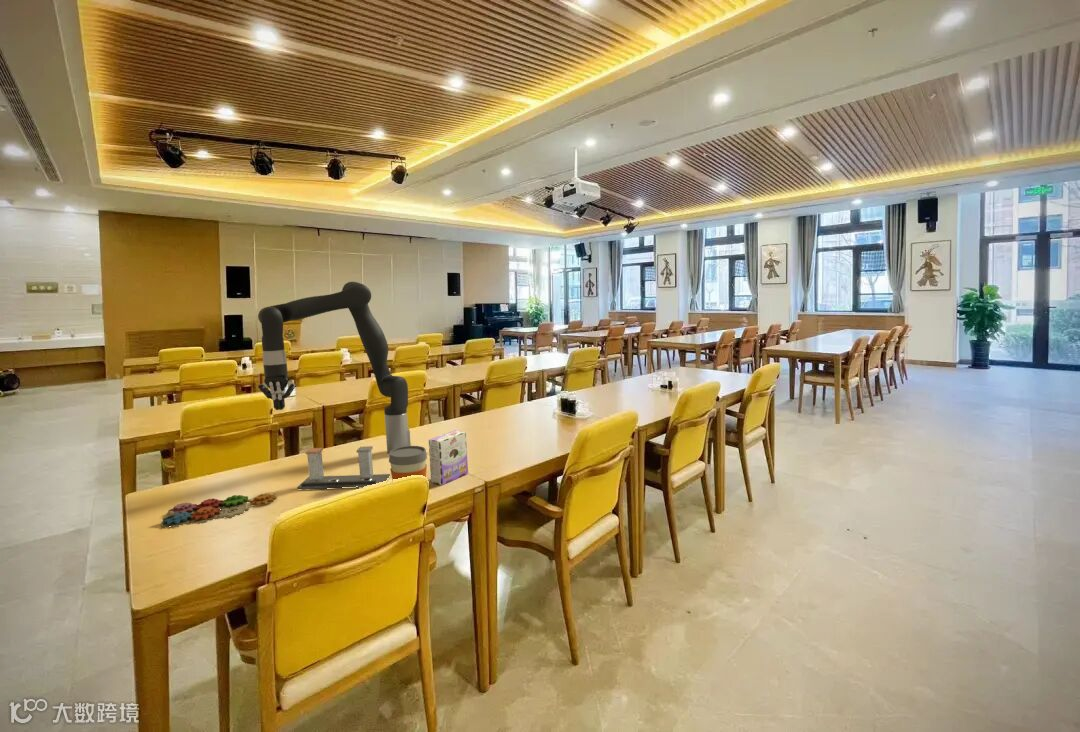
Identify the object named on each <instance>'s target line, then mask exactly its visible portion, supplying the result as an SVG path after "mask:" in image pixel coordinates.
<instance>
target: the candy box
mask: <svg viewBox="0 0 1080 732" xmlns="http://www.w3.org/2000/svg"><path fill="white" fill-rule="evenodd" d="M466 433H467V432H466V431H461V430H452V431H450V432H447V433H443V434H440V435H438V436H435V437H431V438H429V439H428V452H429V467H430V482H431V483H433V484H435V485H438V486H444V485H446V484H448V483H451V482H452V481H455V480H457V479H459V478H461V477H463V476H465V475H467V474H468V473H469V468H468V467H469V465H468V451H467V434H466Z"/></svg>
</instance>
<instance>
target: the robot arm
mask: <svg viewBox="0 0 1080 732" xmlns="http://www.w3.org/2000/svg"><path fill="white" fill-rule="evenodd" d="M371 299H372V292H371V290H370V288H369V287H368V286H366V284H363V283H360V282H357V281H348V282H347V283H345V284H344V285H343V287H342V288H341V291H338V292H335V293H330V294H324V295H322V294H321V295H315V296H308V297H303V298H299V299H296V300H295V299H294V300H292V301H289V302H286V303H279V304H274V305H269V306H266V307H263V308H261V310H259V312H258V314H257V318H258V322H259V323H260V324H261V331H262V336H261V348H262V365H263V376H264V381H263V383H260V384H258V386H257V387H258V389H259V390H260V391H261V392H262V393H263V395H264V396H265V397H266V398H267V399H269V400H270V399H271V400H272V403H273V408H274V410H275V411H282V410H284V408H285V407H286V403H285V399H287V398H289V397H290V396H291V395H292V393H293V392H294V390H295V388H296V386H297V383H295V382H292V381H290V378H289V374H288V365H287V364H288V359H287V355H286V350H285V343H284V342H285V340H284V323H287V322H291V321H299V320H303V319H307V318H311V317H314V316H317V315H321V314H325V313H329V312H333V311H337V310H339V311H340V310H345V309H348V311H349V312H350V314H351V316H352V318H353V321H354V325H355V328H356V330H357V333H358V335H359V338H360V341H361V344H362V346H363V349H364V351H365V354H366V355H367V357H368V360H369V363H370V365H371V368H372V370H373V371H372V372H373V375H374V377H375V381H376V384H377V388H378V391H379V393H380V394H381V395H382V396H383V397H387V398H390V404H388V405H387V406H385V407H384V409H383V411H384V412H383V413H384V423H385V425H384V427H385V439H386V441H385V442H386V453H387V454H388V455H389V452H390V451H391V450H393V449H396V448H399V447H404V446H412V443H411V431H410V429H409V426H408V425H409V424H408V423H409V422H408V412H407V411H408V409H407V408H408V405H409V386H408V382H407V380H406V378H404V377H403V376H400V375H399V376H397V375H392V373H391V371H390V368H389V365H388V355H389V344H388V341H387V339H386V336H385V334H384V331H383V329H382V327H381V326H380V324H379V323H378V321H377V320H376V319H375V317H374V315H373V313H372V311H371V309H370V307H369V303H370V302H371ZM286 388H287V389H286Z"/></svg>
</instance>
